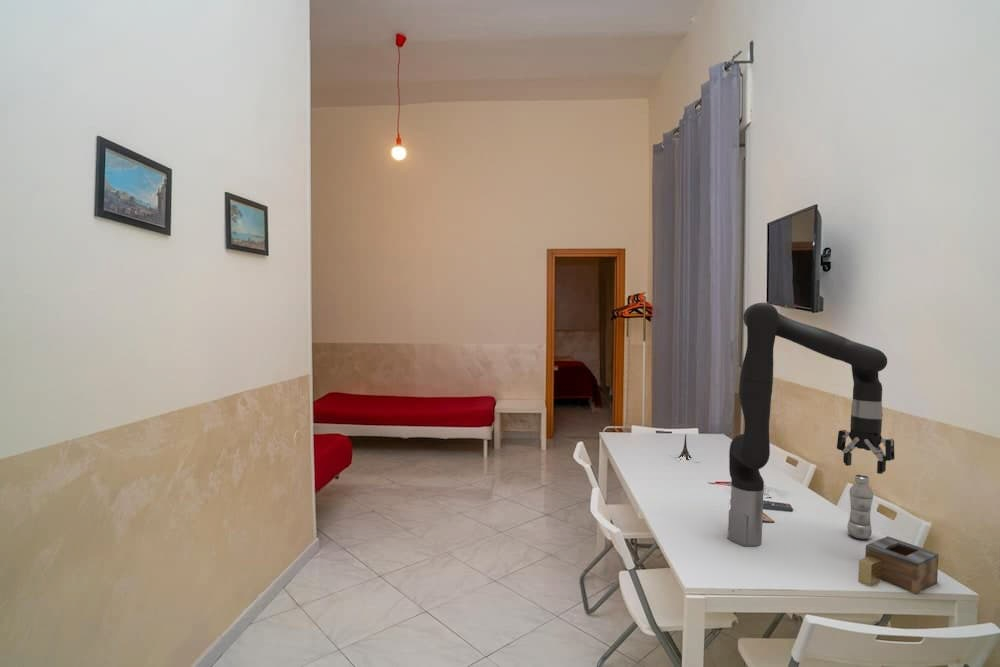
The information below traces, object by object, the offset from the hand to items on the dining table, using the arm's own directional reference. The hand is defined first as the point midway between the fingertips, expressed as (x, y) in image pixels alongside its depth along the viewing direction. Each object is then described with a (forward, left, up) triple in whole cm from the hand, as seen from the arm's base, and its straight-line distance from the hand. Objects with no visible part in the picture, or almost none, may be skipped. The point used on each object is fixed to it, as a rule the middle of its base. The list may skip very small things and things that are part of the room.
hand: (863, 469), depth 153 cm
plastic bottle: (+14, +7, -26) cm, 31 cm away
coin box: (-4, -12, -26) cm, 29 cm away
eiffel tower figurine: (+35, +96, -27) cm, 105 cm away
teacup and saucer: (+23, +49, -27) cm, 60 cm away
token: (-14, -9, -26) cm, 31 cm away
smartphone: (+1, +35, -27) cm, 44 cm away
